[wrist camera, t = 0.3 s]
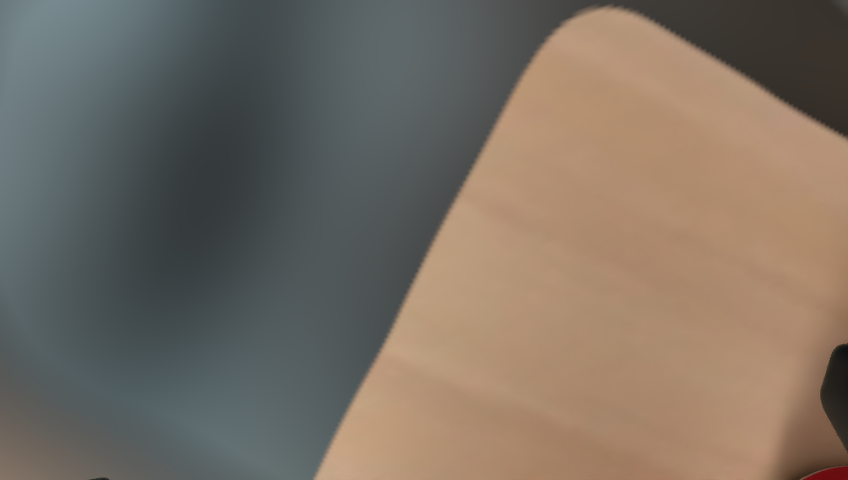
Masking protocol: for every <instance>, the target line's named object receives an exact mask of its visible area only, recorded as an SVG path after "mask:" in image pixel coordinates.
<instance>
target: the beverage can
mask: <svg viewBox="0 0 848 480" xmlns="http://www.w3.org/2000/svg"><path fill="white" fill-rule="evenodd" d="M800 480H848V466H838V467H831V468H827V469H823V470H820V471H816V472H814V473H812V474H810V475H808V476H805V477H803V478H801V479H800Z"/></svg>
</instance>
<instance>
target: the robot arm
mask: <svg viewBox="0 0 848 480" xmlns="http://www.w3.org/2000/svg"><path fill="white" fill-rule="evenodd" d="M820 399H821V404H822V406H823V409H824V411H825V413H826V415H827V417H828V419H829V420H830V422H831V424H832V426H833V428H834V430H835V431H836V433H837V435H838V437H839V439H840V440H841V442H842V444H843V446H844V448H845V449H846V451H847V453H848V343H847V344H841V345H839V346H837V347H836V348H835V349H834V350H833V351H832V354H831V357H830V360H829V363H828V366H827V370H826V373H825V376H824V380H823V383H822V386H821V390H820ZM91 480H109V479H107V478H96V479H91Z"/></svg>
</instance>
